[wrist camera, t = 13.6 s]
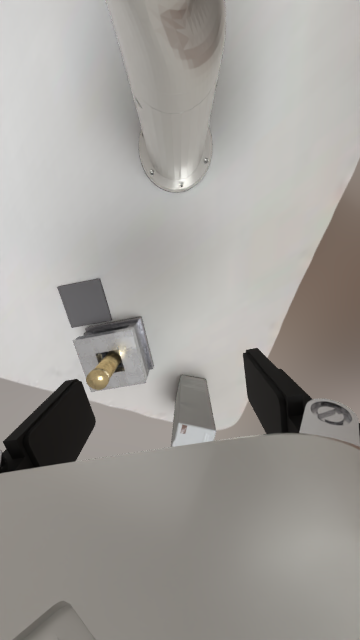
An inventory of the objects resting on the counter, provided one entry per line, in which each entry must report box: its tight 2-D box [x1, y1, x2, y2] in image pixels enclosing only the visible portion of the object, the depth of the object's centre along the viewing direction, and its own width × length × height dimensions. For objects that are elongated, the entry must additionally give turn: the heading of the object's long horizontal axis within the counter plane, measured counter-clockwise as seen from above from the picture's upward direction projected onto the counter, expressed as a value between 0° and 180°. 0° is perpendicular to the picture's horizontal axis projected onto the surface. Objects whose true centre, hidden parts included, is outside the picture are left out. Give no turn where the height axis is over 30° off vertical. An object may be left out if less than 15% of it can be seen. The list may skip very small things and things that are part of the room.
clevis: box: [73, 317, 154, 392], centre depth 39 cm, size 12×12×8 cm
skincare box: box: [171, 375, 216, 447], centre depth 38 cm, size 8×7×16 cm
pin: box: [86, 350, 122, 390], centre depth 35 cm, size 3×3×12 cm
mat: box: [57, 279, 112, 328], centre depth 40 cm, size 9×9×1 cm
